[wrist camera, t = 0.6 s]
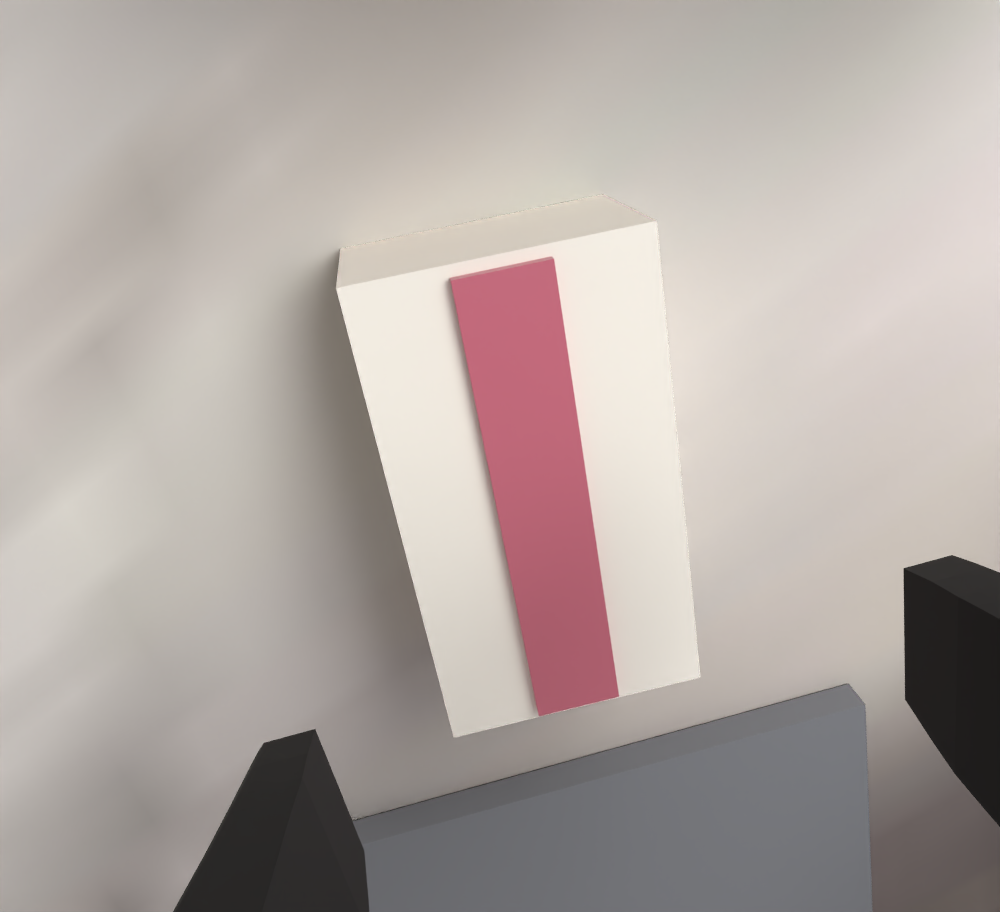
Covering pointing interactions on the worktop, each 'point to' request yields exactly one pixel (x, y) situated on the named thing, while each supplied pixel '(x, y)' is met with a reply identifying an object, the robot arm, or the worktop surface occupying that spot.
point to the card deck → (530, 453)
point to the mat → (651, 825)
